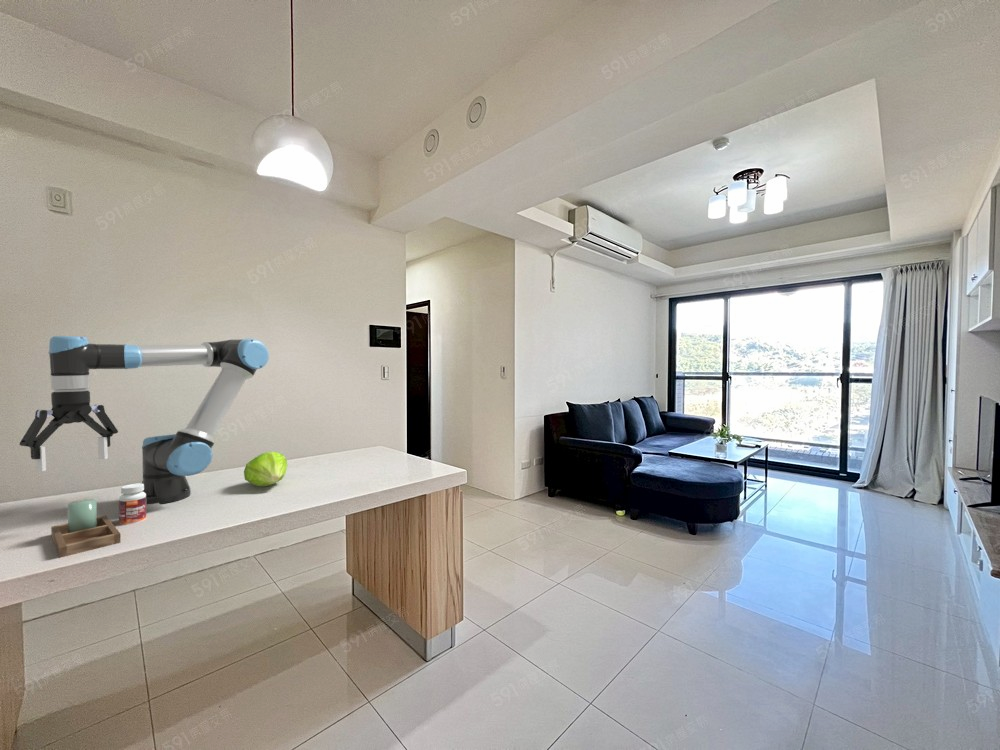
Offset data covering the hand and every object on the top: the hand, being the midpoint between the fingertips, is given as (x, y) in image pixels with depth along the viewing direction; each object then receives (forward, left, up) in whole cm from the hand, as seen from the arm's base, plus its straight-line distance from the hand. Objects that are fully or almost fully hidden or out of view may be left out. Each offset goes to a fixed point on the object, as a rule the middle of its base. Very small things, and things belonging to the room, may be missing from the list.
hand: (73, 464), depth 114 cm
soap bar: (-1, +5, -19) cm, 20 cm away
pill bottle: (-12, +3, -20) cm, 23 cm away
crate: (-1, +10, -20) cm, 22 cm away
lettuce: (-54, -6, -20) cm, 58 cm away
